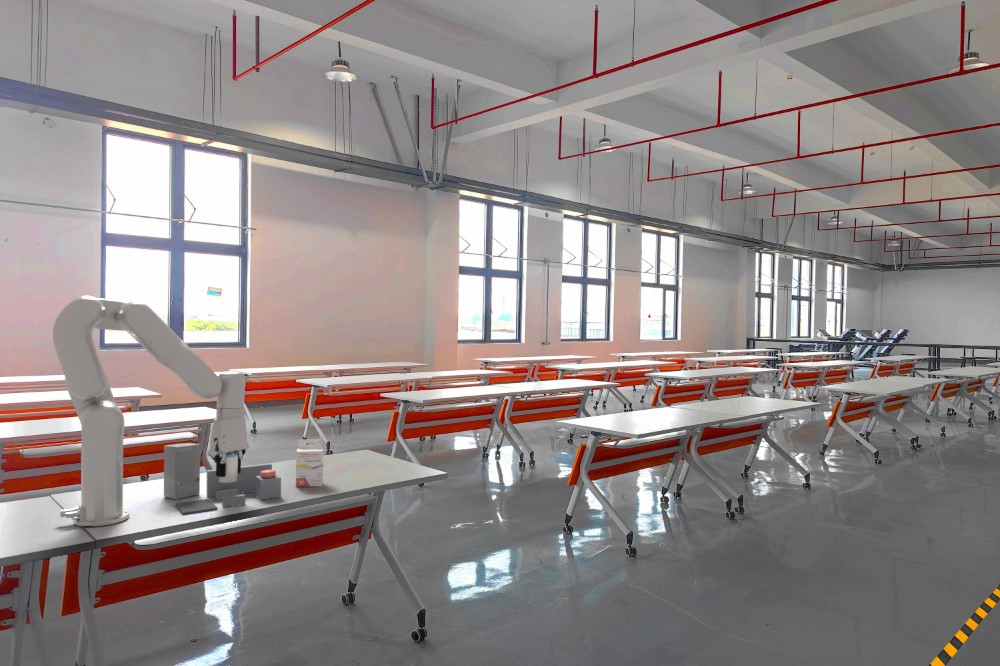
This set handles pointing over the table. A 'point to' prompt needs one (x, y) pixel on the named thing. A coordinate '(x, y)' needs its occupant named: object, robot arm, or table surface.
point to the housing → (244, 485)
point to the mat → (196, 506)
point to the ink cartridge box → (309, 463)
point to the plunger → (268, 474)
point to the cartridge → (230, 468)
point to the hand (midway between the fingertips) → (228, 474)
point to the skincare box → (181, 470)
